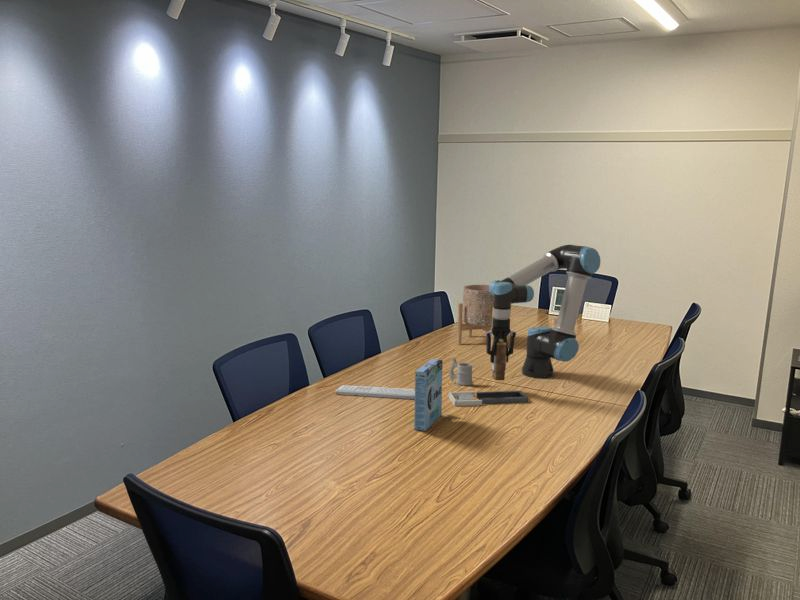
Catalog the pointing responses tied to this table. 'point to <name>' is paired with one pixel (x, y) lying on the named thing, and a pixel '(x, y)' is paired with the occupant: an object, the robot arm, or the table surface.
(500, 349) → the tan block
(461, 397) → the grey squarish block
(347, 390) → the keyboard
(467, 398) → the chip
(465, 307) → the planter
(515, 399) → the dark grey open case
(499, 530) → the table surface
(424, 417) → the gum box
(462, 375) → the mug
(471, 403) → the tray
